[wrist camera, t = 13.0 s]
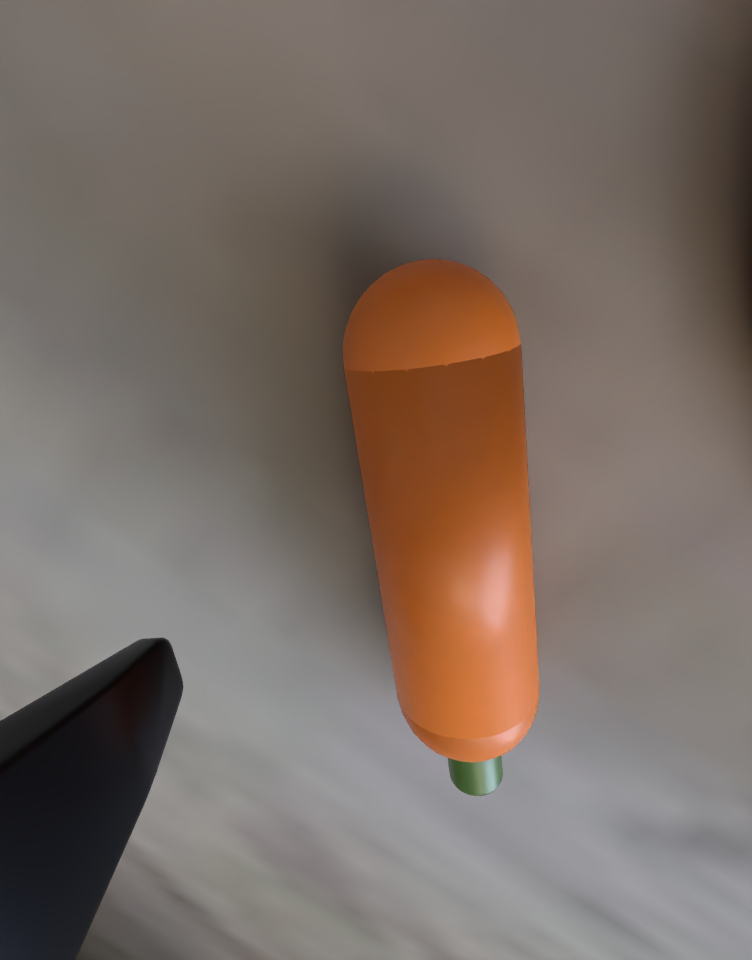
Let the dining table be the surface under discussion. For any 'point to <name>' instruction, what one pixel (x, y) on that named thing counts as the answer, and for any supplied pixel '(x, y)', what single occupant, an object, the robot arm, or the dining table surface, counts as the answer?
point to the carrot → (449, 507)
